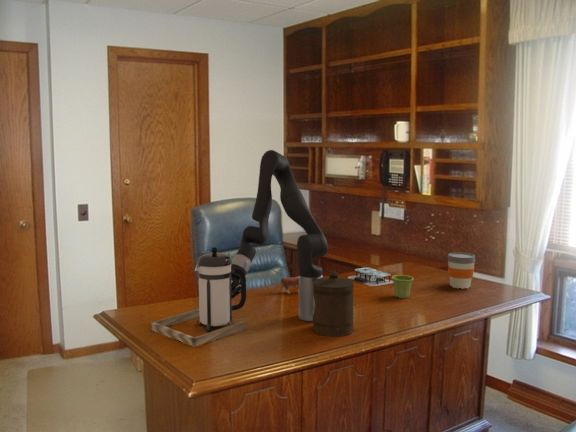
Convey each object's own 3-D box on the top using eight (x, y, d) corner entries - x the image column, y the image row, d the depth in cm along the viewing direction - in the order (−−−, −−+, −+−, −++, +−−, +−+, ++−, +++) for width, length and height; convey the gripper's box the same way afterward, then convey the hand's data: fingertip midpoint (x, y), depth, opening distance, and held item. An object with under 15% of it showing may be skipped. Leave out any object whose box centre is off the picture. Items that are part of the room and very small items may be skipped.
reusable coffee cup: (440, 284, 276) (442, 253, 274) (461, 281, 282) (462, 251, 279) (458, 290, 265) (460, 259, 263) (479, 287, 270) (481, 256, 268)
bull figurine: (310, 294, 260) (310, 276, 258) (280, 293, 260) (280, 276, 259) (310, 291, 264) (310, 274, 263) (281, 291, 264) (281, 273, 263)
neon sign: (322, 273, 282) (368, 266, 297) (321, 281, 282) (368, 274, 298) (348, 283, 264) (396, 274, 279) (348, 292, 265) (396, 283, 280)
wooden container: (328, 320, 223) (328, 265, 220) (360, 329, 214) (362, 271, 211) (304, 330, 212) (305, 272, 209) (338, 340, 202) (339, 279, 199)
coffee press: (227, 334, 207) (226, 252, 203) (188, 329, 213) (186, 249, 208) (247, 320, 224) (246, 244, 219) (210, 315, 229) (208, 241, 224)
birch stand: (246, 329, 213) (245, 321, 212) (194, 347, 195) (193, 339, 195) (201, 315, 230) (201, 307, 229) (150, 330, 212) (150, 322, 212)
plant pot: (411, 294, 260) (412, 275, 259) (414, 300, 251) (414, 280, 249) (390, 293, 261) (391, 274, 260) (392, 299, 252) (392, 280, 250)
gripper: (221, 261, 232) (201, 298, 223) (247, 265, 225) (228, 303, 216) (229, 271, 237) (211, 307, 229) (256, 275, 230) (237, 313, 222)
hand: (219, 305), depth 222 cm, fingers closed
